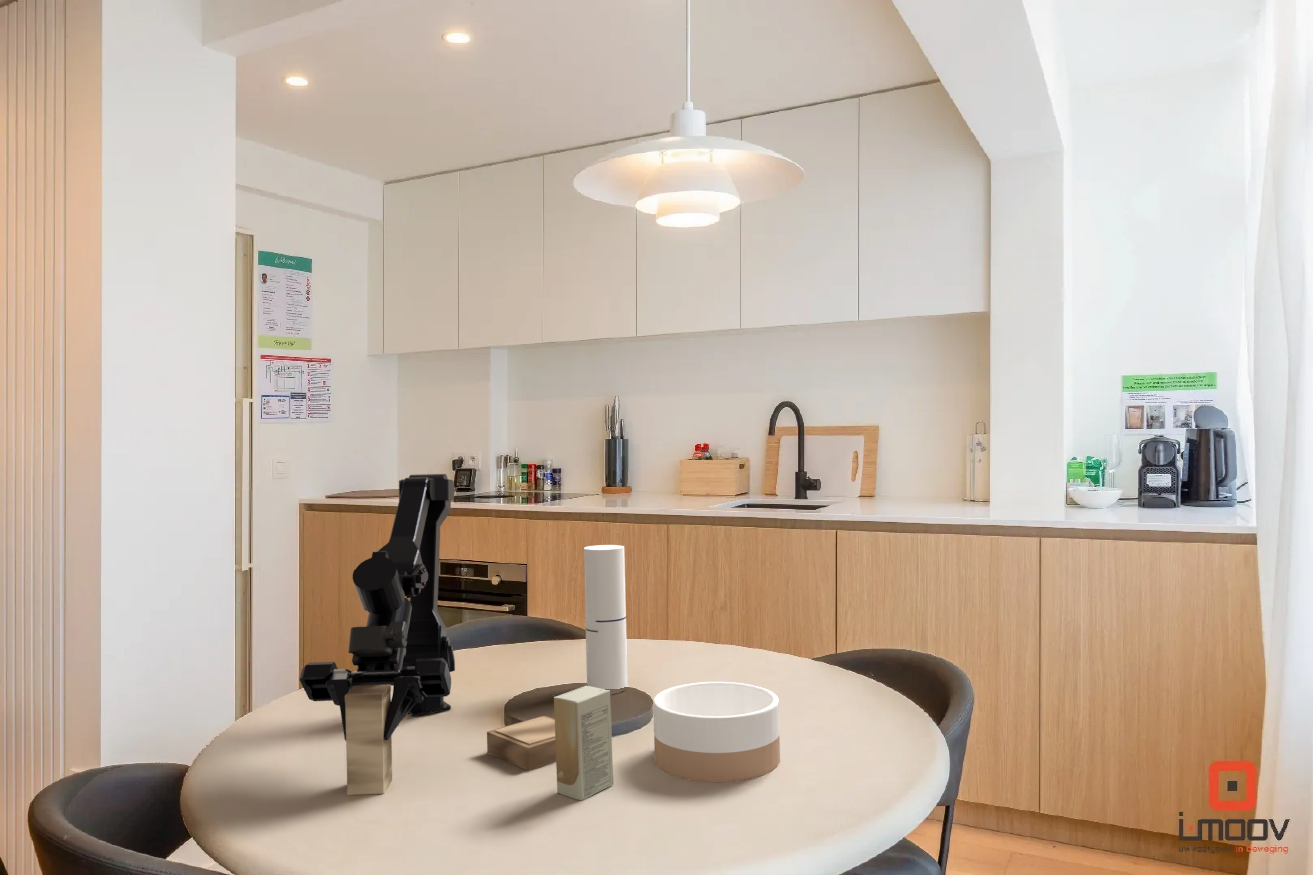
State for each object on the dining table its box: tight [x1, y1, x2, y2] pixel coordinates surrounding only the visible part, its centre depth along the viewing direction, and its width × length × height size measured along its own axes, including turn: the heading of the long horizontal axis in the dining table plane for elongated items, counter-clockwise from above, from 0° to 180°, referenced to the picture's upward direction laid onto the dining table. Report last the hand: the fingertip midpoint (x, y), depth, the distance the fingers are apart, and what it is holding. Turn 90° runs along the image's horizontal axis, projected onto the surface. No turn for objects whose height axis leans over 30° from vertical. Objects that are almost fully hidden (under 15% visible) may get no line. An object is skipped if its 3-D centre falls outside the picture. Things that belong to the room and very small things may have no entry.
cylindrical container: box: [583, 544, 629, 689], centre depth 158 cm, size 7×7×25 cm
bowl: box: [652, 681, 781, 783], centre depth 122 cm, size 17×17×8 cm
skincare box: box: [553, 685, 614, 801], centre depth 112 cm, size 6×4×12 cm
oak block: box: [345, 684, 393, 796], centre depth 114 cm, size 5×5×12 cm
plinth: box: [486, 715, 556, 772], centre depth 126 cm, size 10×10×3 cm
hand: (366, 739), depth 113 cm, fingers closed on oak block, 4 cm apart
